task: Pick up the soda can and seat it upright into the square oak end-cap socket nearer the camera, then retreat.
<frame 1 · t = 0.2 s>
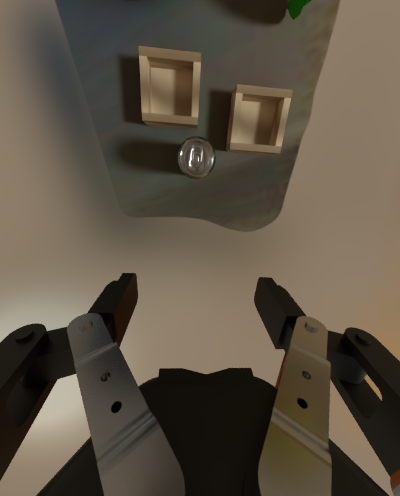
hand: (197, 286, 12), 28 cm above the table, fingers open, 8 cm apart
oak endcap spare: (252, 126, 33), on the table
soda can: (194, 161, 35), on the table
oak endcap: (172, 97, 31), on the table
flower: (289, 8, 27), on the table
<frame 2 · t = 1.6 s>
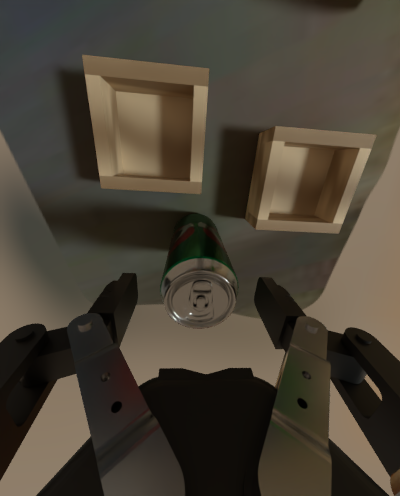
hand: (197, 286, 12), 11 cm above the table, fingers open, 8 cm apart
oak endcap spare: (290, 182, 20), on the table
soda can: (195, 233, 22), on the table
oak endcap: (157, 140, 18), on the table
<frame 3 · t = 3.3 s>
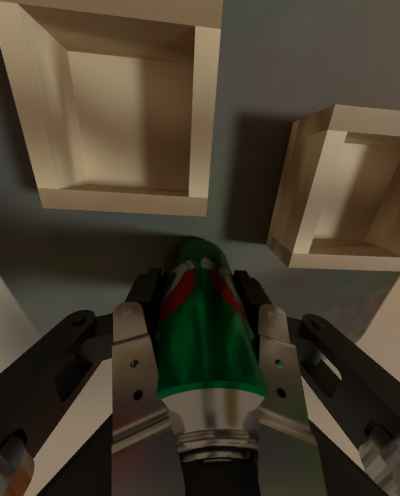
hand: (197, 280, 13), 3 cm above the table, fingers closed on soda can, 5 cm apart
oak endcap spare: (332, 194, 14), on the table
soda can: (196, 263, 16), on the table, touching gripper
oak endcap: (139, 132, 12), on the table
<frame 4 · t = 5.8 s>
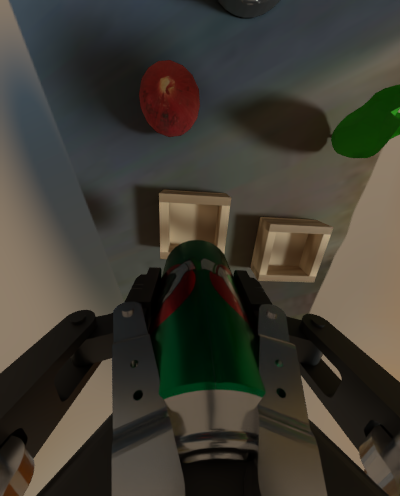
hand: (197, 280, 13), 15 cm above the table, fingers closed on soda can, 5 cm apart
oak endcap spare: (281, 244, 29), on the table
onion: (173, 112, 22), on the table
soda can: (196, 264, 16), point 12 cm above the table, touching gripper
oak endcap: (193, 221, 27), on the table
flower: (331, 136, 24), on the table
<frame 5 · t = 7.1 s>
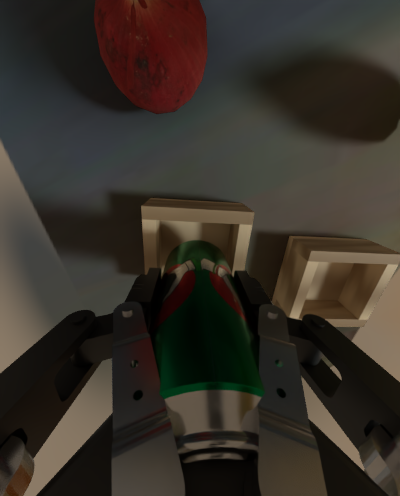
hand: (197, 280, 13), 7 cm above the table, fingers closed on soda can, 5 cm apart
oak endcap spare: (315, 272, 21), on the table
onion: (164, 78, 14), on the table
soda can: (196, 264, 16), point 4 cm above the table, touching gripper
oak endcap: (194, 242, 19), on the table
when the fingers open (5 cm above the table, at t = 8.3 s): soda can drops 1 cm, resting on oak endcap.
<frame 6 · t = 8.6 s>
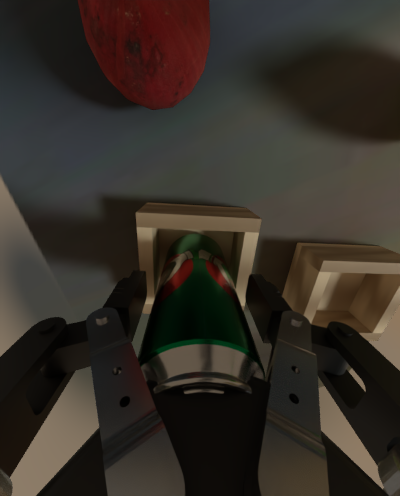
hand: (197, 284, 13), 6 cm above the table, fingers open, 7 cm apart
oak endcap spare: (325, 281, 20), on the table
onion: (161, 71, 13), on the table
soda can: (194, 256, 17), point 1 cm above the table, touching oak endcap
oak endcap: (195, 250, 18), on the table
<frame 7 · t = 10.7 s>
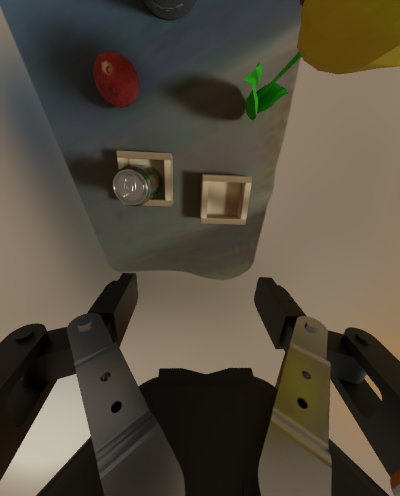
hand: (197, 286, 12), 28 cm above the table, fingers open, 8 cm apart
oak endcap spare: (222, 197, 37), on the table
onion: (125, 91, 30), on the table
soda can: (149, 180, 35), point 1 cm above the table, touching oak endcap
oak endcap: (149, 178, 35), on the table
flower: (247, 107, 31), on the table
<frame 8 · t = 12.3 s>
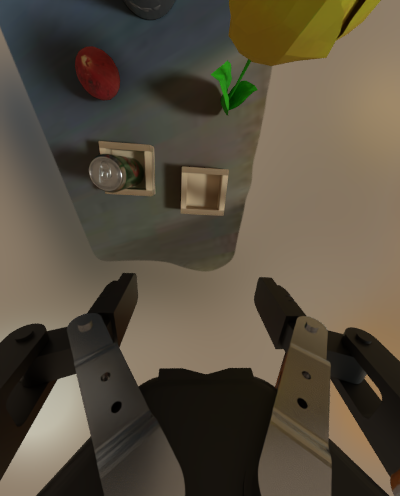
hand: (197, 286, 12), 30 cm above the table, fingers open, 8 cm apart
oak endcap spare: (202, 190, 39), on the table
onion: (109, 85, 32), on the table
soda can: (131, 171, 36), point 1 cm above the table, touching oak endcap
oak endcap: (132, 170, 37), on the table
flower: (225, 103, 33), on the table
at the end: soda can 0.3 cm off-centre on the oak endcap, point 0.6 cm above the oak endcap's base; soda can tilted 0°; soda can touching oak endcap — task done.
